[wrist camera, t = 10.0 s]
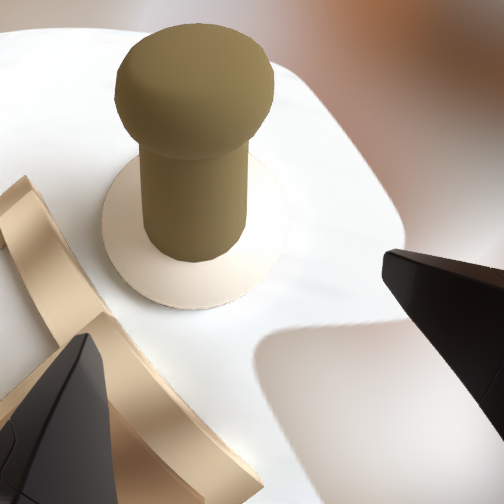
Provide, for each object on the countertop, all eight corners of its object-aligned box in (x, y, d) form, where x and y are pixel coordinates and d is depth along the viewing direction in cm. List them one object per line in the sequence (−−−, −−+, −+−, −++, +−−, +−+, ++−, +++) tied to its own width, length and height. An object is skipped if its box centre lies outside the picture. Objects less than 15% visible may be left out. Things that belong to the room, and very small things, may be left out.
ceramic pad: (286, 158, 21) (289, 150, 20) (279, 319, 17) (283, 317, 16) (131, 140, 20) (129, 131, 19) (88, 294, 16) (82, 290, 15)
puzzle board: (255, 471, 14) (267, 492, 11) (89, 570, 9) (76, 594, 6) (40, 193, 17) (20, 167, 14) (-78, 316, 12) (-105, 307, 9)
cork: (126, 244, 16) (51, 95, 6) (165, 158, 19) (151, -1, 8) (231, 276, 17) (277, 140, 6) (257, 183, 19) (309, 26, 9)
